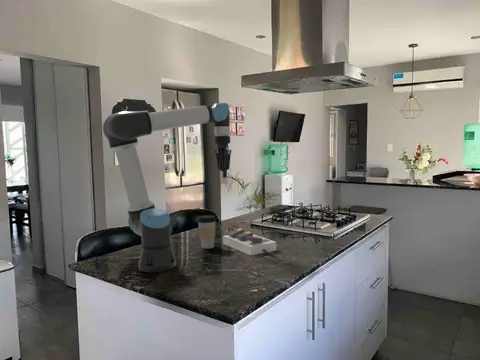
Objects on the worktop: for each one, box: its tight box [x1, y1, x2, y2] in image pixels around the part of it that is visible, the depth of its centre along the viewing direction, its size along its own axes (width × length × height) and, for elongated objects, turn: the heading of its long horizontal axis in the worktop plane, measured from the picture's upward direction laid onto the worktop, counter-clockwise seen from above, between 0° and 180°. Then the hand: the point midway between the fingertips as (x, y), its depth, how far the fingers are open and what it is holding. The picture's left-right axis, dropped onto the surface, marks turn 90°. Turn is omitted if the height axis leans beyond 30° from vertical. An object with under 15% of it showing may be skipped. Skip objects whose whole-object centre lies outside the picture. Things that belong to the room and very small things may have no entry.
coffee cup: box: [197, 214, 217, 250], centre depth 190 cm, size 9×9×15 cm
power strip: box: [222, 231, 277, 256], centre depth 185 cm, size 14×34×5 cm, turn 31°
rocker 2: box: [236, 230, 254, 240], centre depth 187 cm, size 7×4×2 cm, turn 121°
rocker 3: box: [245, 236, 263, 242], centre depth 180 cm, size 7×4×2 cm, turn 121°
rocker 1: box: [227, 227, 246, 237], centre depth 194 cm, size 7×4×2 cm, turn 121°
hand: (224, 184), depth 191 cm, fingers closed
